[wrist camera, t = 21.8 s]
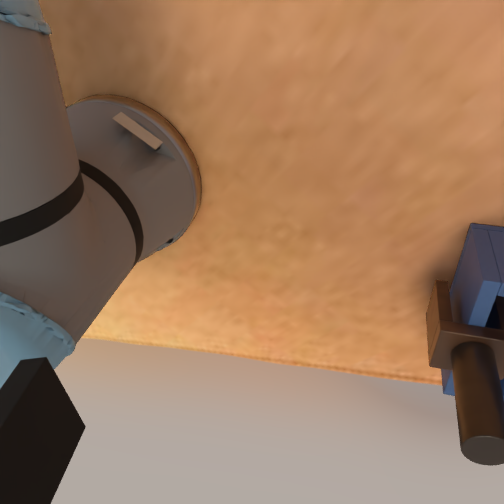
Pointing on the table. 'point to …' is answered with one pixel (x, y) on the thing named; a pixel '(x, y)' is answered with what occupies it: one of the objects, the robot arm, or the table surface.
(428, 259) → the table surface
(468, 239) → the bin
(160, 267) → the table surface
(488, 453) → the peg on small stool
